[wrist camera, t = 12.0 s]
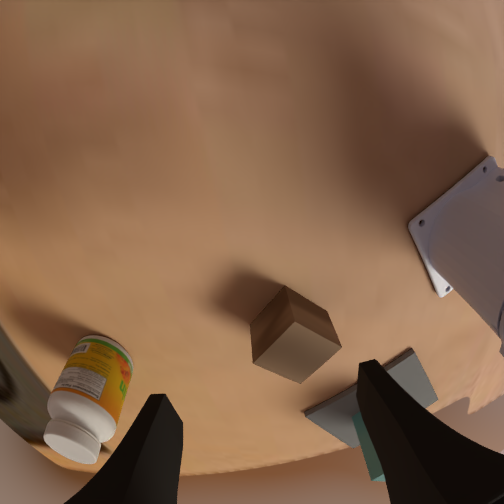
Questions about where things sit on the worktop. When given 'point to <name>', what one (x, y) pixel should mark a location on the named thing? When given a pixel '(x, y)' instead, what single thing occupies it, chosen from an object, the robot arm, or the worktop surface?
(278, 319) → the walnut block
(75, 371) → the supplement bottle
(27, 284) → the worktop surface
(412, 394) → the slate mat
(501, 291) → the robot arm
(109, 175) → the worktop surface
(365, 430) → the teal block
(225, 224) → the worktop surface
